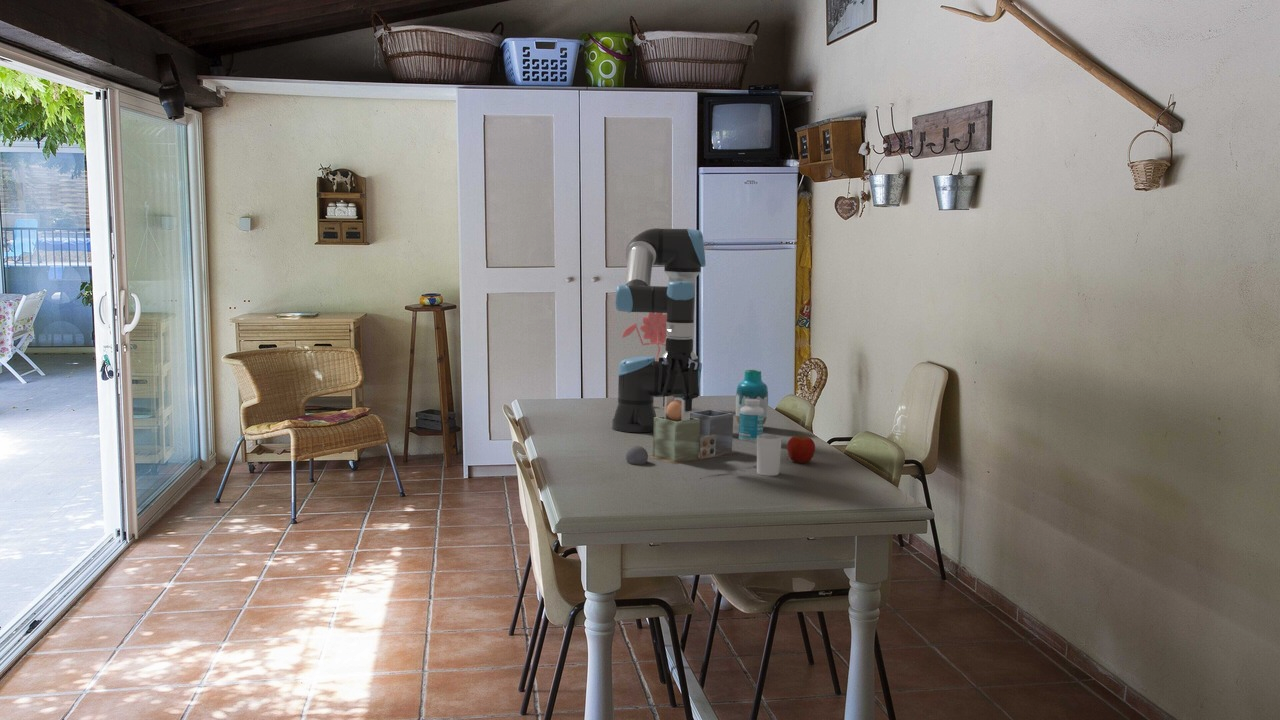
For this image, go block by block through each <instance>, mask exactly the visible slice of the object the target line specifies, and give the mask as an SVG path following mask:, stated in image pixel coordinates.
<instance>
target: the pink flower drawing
mask: <svg viewBox="0 0 1280 720" xmlns="http://www.w3.org/2000/svg"><path fill="white" fill-rule="evenodd" d="M647 315H648V316H647V317H646V316H644V317H643V318H642V323H643V324H642V325H641V326H640V327H639V329H640V331H641V332H642V333H644V334H643V336H642V338H643V340H649V341H650V342H646V343H644V342H643V340H642V338H641V334H640V332H639V329H638V326H637V324H636V323H634V324H631V325H629V326H628V327H627V328H626V329H625V330H624V331H623V332H622V335H621V338H622V339H624V338H626V337H628V336H630V335H631V334H632V333H633V332H634V331H635V329H636V333H637V335H638V338H639V341H640V343H641V345H642V346H647V345H655V344H656V345H657V348H658V351H657V353H656V354H657V355H656V357H655V361H658V359H659V355H660V351H661V347H660V345H661V346H664V347H666V339H667V336H666V322H667V313H651V312H648V314H647ZM673 401H675V398H673Z"/></svg>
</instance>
